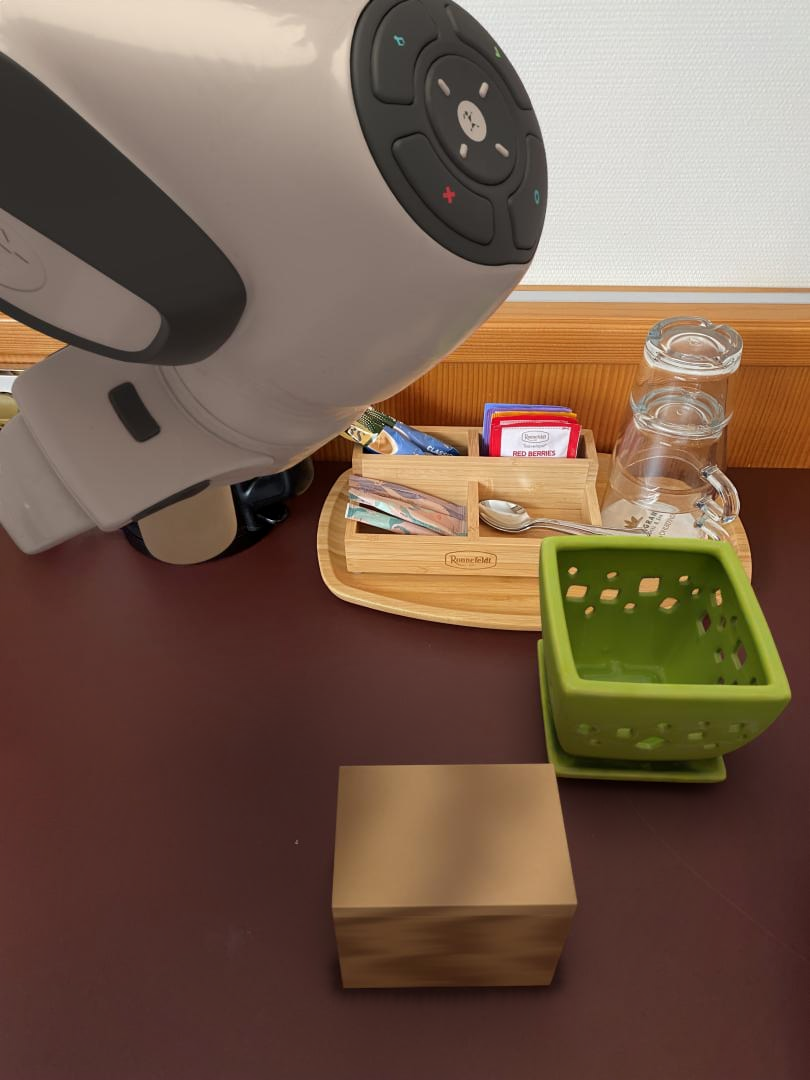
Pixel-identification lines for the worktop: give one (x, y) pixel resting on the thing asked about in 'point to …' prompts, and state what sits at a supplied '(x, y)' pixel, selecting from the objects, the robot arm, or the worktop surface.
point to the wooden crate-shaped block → (450, 875)
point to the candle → (191, 528)
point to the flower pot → (651, 659)
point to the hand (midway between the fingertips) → (166, 458)
